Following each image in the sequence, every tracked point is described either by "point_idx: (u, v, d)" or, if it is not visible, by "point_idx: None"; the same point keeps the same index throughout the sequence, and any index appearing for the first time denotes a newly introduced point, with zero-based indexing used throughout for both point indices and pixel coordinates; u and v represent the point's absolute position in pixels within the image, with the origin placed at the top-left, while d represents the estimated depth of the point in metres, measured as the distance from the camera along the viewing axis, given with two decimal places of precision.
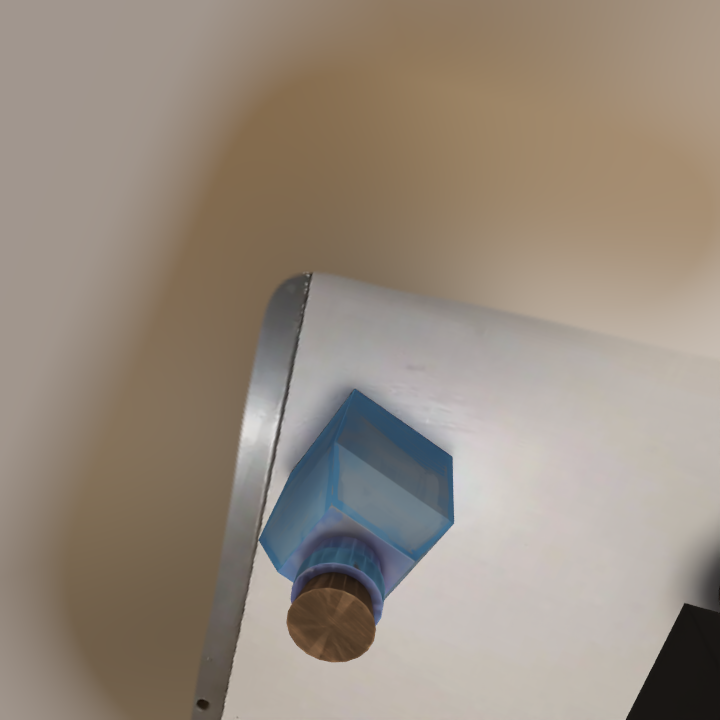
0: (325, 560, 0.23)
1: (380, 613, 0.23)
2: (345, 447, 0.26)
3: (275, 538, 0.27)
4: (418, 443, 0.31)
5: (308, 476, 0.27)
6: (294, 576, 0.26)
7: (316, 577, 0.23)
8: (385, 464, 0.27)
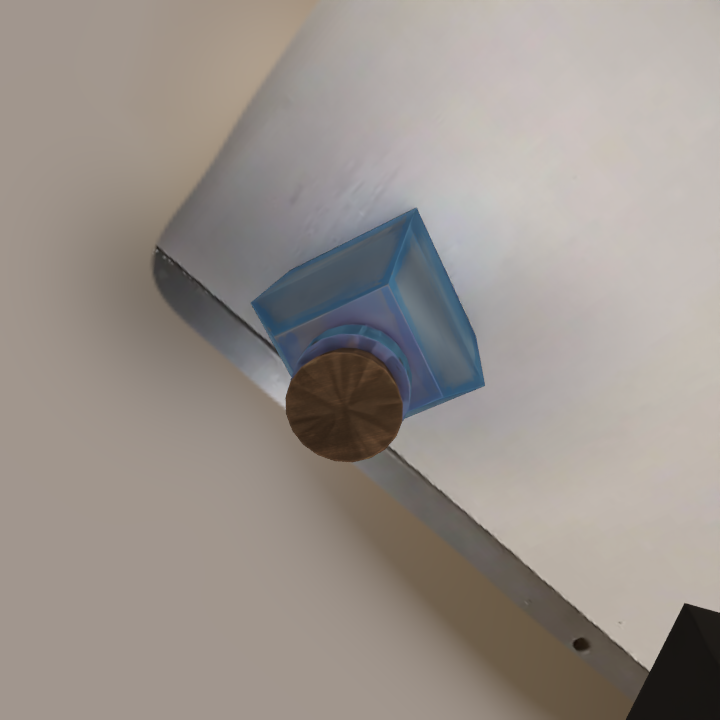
0: (293, 373, 0.18)
1: (387, 350, 0.17)
2: (263, 296, 0.22)
3: None
4: (369, 233, 0.26)
5: (278, 353, 0.23)
6: None
7: None
8: (317, 267, 0.22)
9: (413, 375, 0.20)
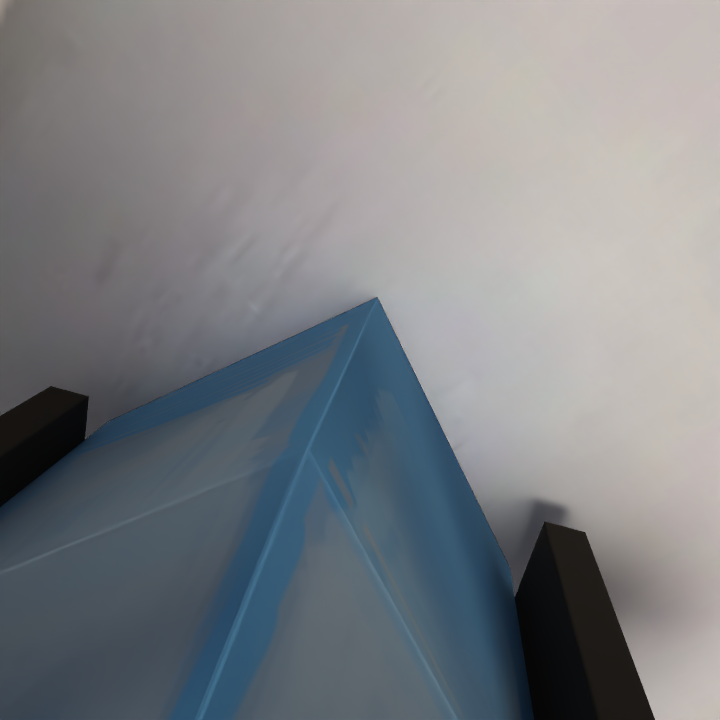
0: None
1: None
2: None
3: None
4: (261, 361, 0.11)
5: None
6: None
7: None
8: (51, 523, 0.07)
9: None
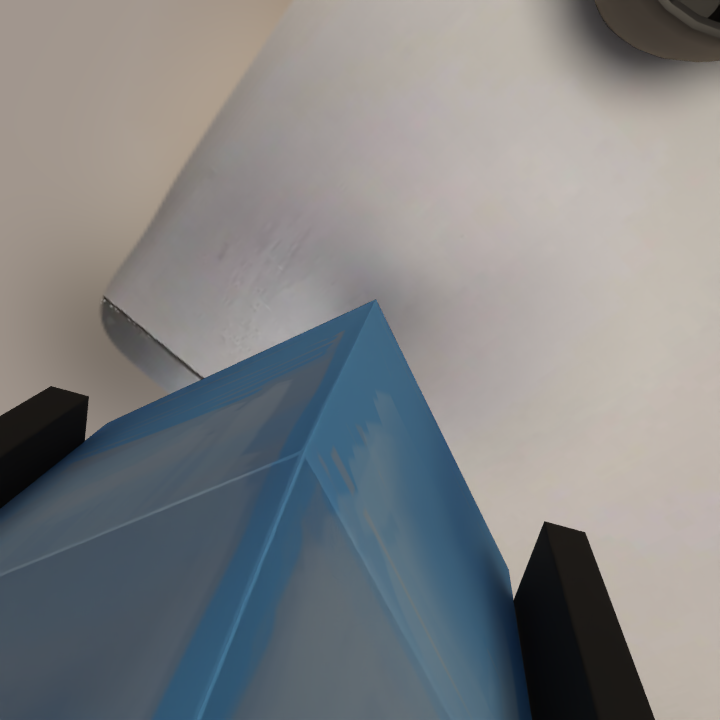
0: None
1: None
2: None
3: None
4: (260, 363, 0.11)
5: None
6: None
7: None
8: (50, 524, 0.07)
9: None
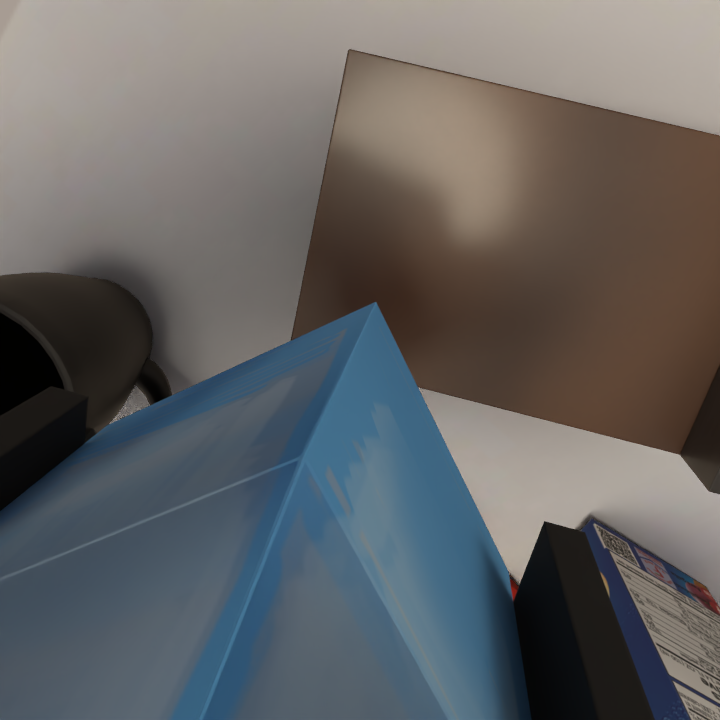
0: None
1: None
2: None
3: None
4: (260, 365, 0.11)
5: None
6: None
7: None
8: (49, 528, 0.07)
9: None
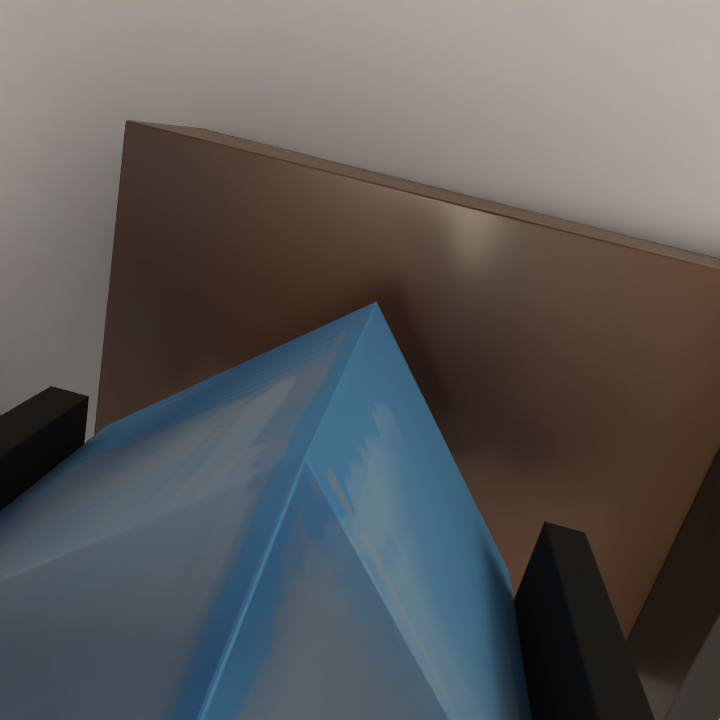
0: None
1: None
2: None
3: None
4: (260, 365, 0.11)
5: None
6: None
7: None
8: (50, 527, 0.07)
9: None
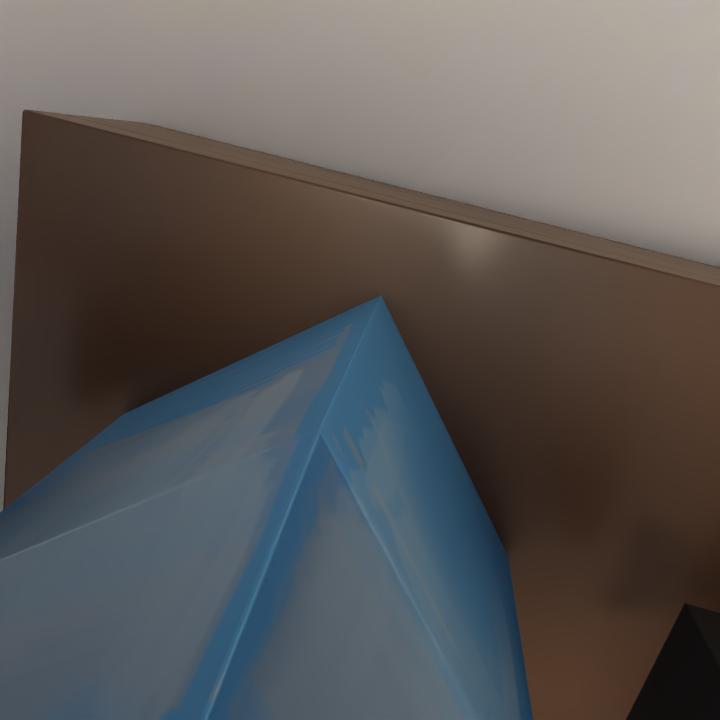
0: None
1: None
2: None
3: None
4: (271, 356, 0.11)
5: None
6: None
7: None
8: (81, 502, 0.08)
9: None
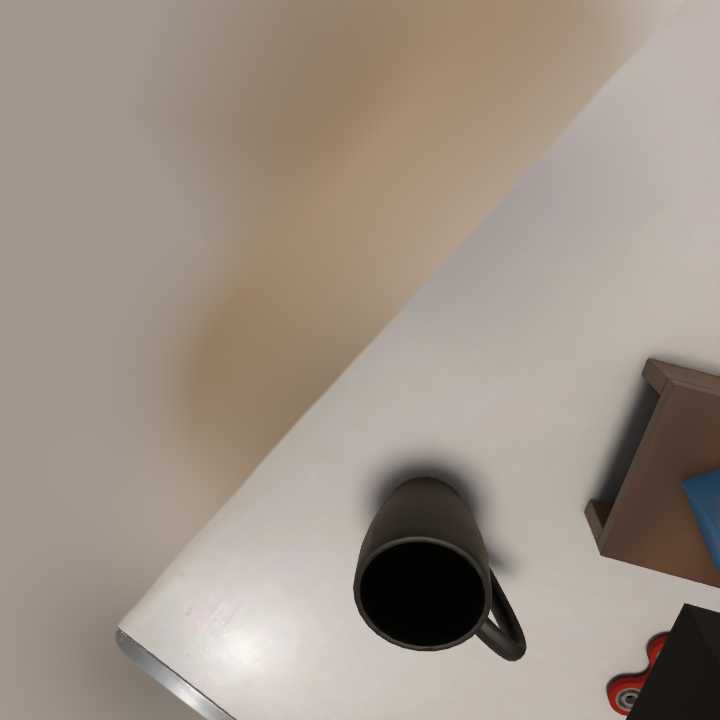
0: None
1: None
2: None
3: None
4: None
5: None
6: None
7: None
8: None
9: None
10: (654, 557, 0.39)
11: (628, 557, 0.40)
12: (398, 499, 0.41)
